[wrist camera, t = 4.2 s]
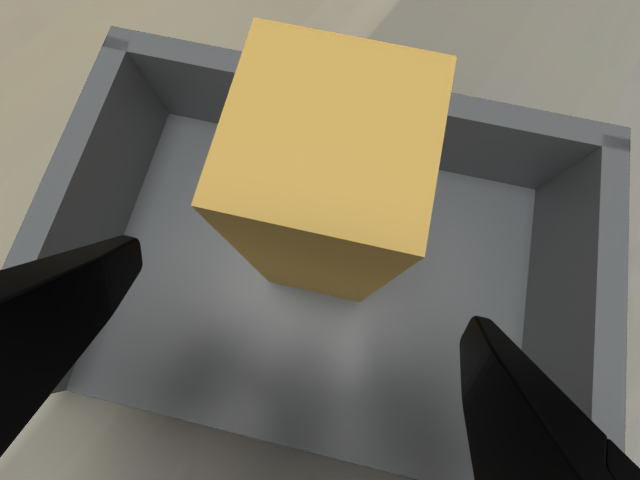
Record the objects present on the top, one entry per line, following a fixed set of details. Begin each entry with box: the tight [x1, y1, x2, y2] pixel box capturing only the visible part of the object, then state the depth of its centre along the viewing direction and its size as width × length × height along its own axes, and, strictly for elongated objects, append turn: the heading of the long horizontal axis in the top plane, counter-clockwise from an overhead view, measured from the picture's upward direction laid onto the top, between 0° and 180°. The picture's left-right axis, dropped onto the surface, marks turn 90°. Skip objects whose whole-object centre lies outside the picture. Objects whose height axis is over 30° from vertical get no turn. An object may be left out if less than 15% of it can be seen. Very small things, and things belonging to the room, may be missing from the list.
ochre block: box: [191, 17, 457, 302], centre depth 14 cm, size 5×5×12 cm
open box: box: [1, 26, 631, 480], centre depth 17 cm, size 17×24×6 cm
